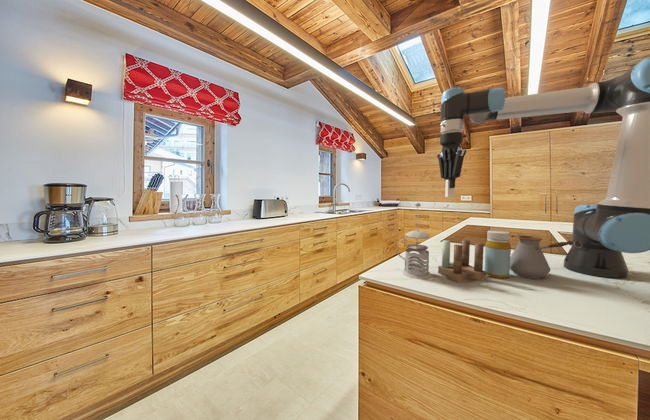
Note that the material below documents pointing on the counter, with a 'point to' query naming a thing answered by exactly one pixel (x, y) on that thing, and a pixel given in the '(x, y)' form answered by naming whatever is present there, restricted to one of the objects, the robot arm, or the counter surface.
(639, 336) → the counter surface
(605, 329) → the counter surface
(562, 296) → the counter surface
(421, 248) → the french press
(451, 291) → the counter surface
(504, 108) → the robot arm
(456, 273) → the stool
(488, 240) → the bottle
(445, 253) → the swing leg
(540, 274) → the coffee pot
